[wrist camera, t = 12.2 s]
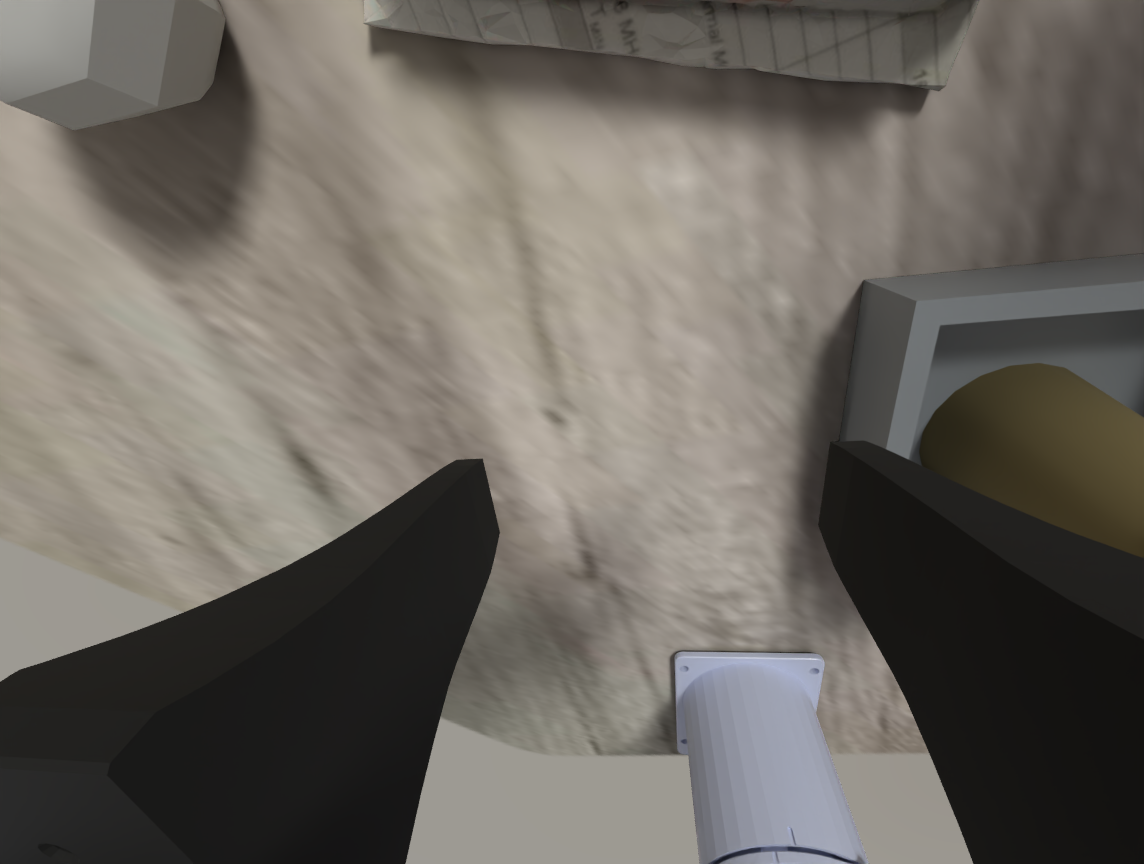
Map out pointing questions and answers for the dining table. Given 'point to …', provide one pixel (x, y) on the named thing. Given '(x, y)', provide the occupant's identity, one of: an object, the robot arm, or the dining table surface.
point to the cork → (1045, 450)
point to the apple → (106, 57)
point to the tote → (989, 338)
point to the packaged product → (715, 32)
